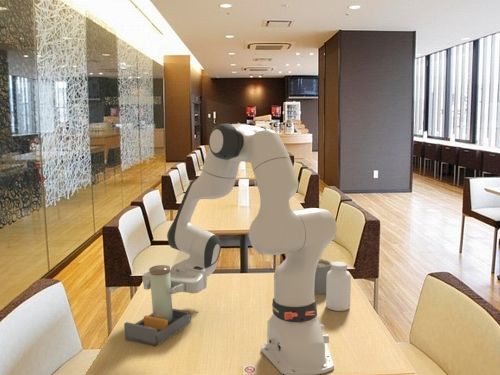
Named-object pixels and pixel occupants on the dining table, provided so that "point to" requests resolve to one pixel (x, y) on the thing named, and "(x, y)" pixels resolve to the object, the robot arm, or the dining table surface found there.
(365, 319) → the dining table surface
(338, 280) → the pill bottle
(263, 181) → the robot arm
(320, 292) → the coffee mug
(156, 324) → the block
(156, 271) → the jar
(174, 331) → the gray open tray
